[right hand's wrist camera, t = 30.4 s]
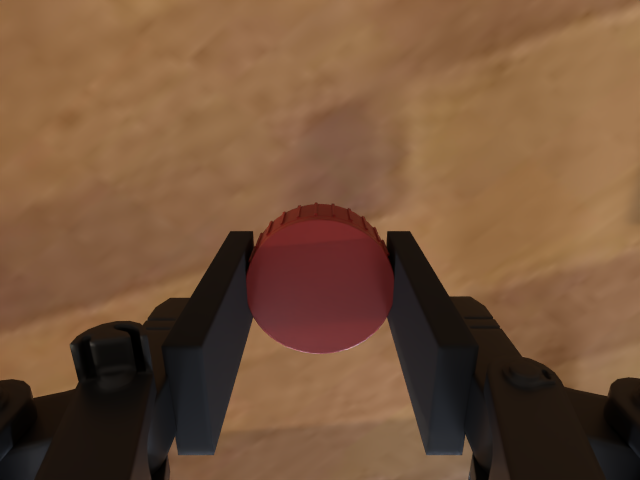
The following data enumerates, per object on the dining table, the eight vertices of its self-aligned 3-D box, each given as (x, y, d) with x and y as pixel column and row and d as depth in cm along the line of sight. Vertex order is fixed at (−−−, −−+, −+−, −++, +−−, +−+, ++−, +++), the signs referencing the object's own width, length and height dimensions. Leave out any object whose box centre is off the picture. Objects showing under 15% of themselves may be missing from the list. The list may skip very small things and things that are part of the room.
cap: (407, 300, 15) (417, 326, 13) (286, 344, 15) (282, 374, 14) (359, 179, 13) (364, 192, 12) (227, 234, 14) (215, 253, 12)
